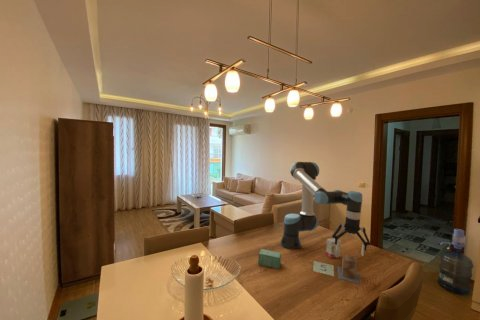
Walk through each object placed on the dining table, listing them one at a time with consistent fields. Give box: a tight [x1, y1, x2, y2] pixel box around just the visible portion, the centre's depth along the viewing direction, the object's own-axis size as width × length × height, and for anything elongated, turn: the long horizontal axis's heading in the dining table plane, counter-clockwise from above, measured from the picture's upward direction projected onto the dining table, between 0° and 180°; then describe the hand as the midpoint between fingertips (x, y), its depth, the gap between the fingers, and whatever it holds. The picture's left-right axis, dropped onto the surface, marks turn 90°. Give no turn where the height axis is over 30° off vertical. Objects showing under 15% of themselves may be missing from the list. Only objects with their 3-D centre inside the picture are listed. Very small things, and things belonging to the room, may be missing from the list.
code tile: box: [312, 260, 335, 277], centre depth 133 cm, size 12×13×1 cm
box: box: [257, 248, 282, 269], centre depth 135 cm, size 7×14×8 cm, turn 74°
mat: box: [336, 266, 362, 285], centre depth 127 cm, size 12×14×1 cm
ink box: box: [325, 237, 342, 259], centre depth 149 cm, size 9×5×12 cm, turn 108°
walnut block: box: [341, 253, 358, 279], centre depth 127 cm, size 7×7×10 cm
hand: (349, 252), depth 127 cm, fingers open, 13 cm apart
